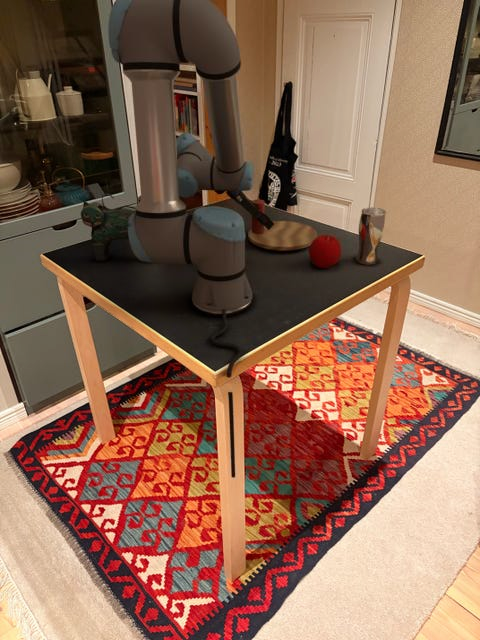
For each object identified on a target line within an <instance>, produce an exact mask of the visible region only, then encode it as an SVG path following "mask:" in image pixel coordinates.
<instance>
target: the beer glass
mask: <svg viewBox="0 0 480 640" xmlns="http://www.w3.org/2000/svg"><path fill="white" fill-rule="evenodd" d="M360 212H361V213H360V216H359V223H358V251H357V255H356V257H355V261H356V262H357V263H359V264H361V265H365V266H372V265H376V264H377V263H378V251H379V247H380V243H381V240H382V238H383V236H384V235H383V234H384V231H385V225H386V213H387V211H386V210H385V209H383V208H379V207H372V206H371V207H365V208H364V207H363V208H362V209H361V211H360Z"/></svg>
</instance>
